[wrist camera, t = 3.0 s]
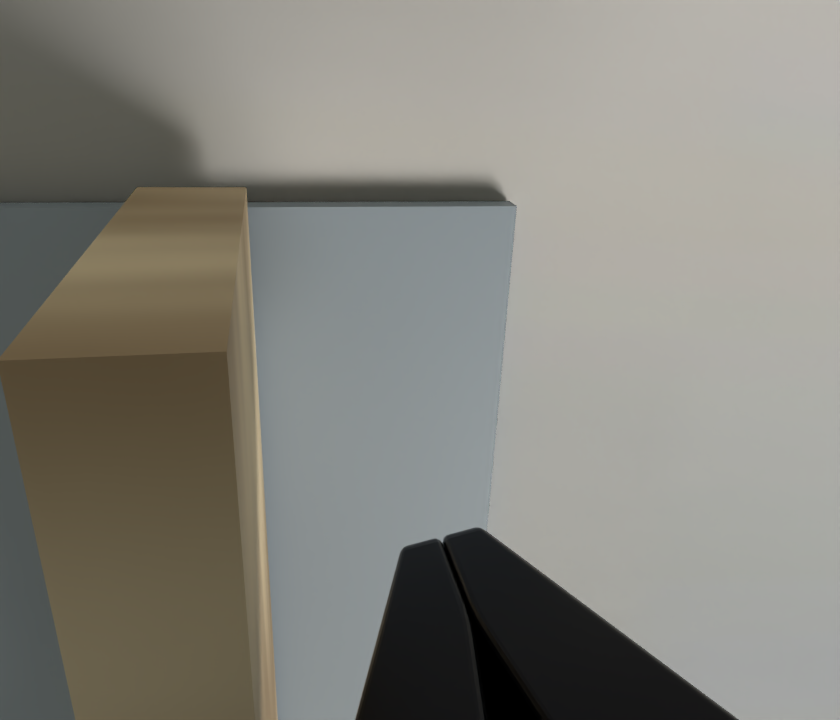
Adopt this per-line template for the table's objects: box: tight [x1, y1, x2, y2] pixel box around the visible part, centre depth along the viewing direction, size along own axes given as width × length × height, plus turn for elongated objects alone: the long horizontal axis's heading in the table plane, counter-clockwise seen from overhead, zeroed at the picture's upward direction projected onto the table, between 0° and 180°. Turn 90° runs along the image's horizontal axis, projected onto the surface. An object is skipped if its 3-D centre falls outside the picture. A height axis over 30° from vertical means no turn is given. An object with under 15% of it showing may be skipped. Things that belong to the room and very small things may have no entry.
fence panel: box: [0, 187, 278, 720], centre depth 8 cm, size 11×1×5 cm, turn 178°
